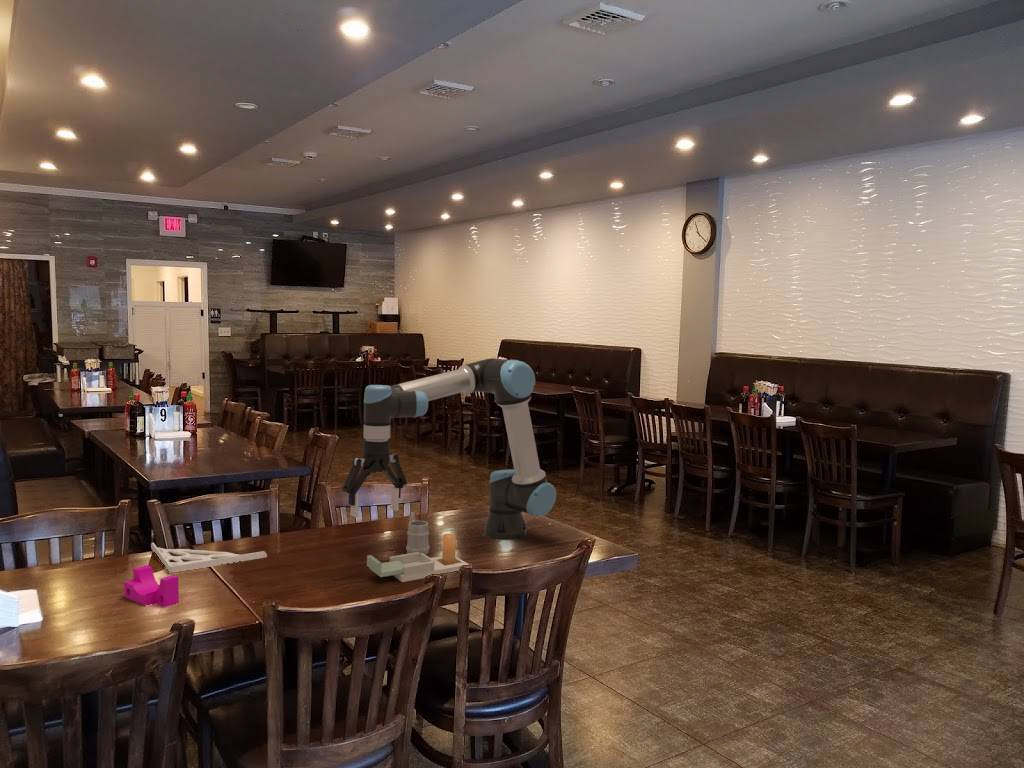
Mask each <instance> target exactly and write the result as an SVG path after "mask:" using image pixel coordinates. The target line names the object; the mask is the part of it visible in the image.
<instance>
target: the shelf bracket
mask: <svg viewBox="0 0 1024 768" xmlns="http://www.w3.org/2000/svg"><path fill="white" fill-rule="evenodd" d="M150 547H151V548H150V549H151V550H152V552H153V553H154V552H155V553H156V554H157V556H158V557H159V559H160V560H161V562H162V563H163V564H164V565H165V567H166V568H167V569H168V571H169V572H179V571H186V570H193V569H199V568H205V569H207V568H206V567H211V568H212V567H216V566H222V565H221V564H223V565H228V564H227V563H229V564H234V563H233V562H235V563H240V562H239V561H241V562H247V561H252V560H259V559H263V558H267V557H268V555H267V554H268V553H266V551H263V550H261V551H257V552H251V553H244V554H237V553H232V552H228V551H215V550H205V549H203V550H202V549H201V550H199V549H187V548H176V549H175V548H174V549H173V548H162V547H157V545H156V544H155V543H154V542H151V544H150ZM155 553H154V554H155ZM156 554H155V555H156ZM159 559H158V560H159ZM160 560H159V561H160ZM171 561H172V562H171ZM161 562H160V563H161ZM162 563H161V564H162ZM163 564H162V565H163ZM165 567H164V568H165ZM166 568H165V569H166ZM199 570H200V569H199ZM168 571H167V572H168ZM193 571H194V570H193ZM169 572H168V573H169Z"/></svg>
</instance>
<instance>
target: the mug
mask: <svg viewBox="0 0 1024 768" xmlns="http://www.w3.org/2000/svg"><path fill="white" fill-rule="evenodd" d="M409 516H410V517H409V518H410V519H409V522H408V525H407V526H408V527H407V531H406V534H407V545H406V548H405V549H406V554H409V553H415V552H419V553H423V554H425V555H426V556H427V554H429V553H430V549H431V546H430V543H429V535H430V531H429V522H428V521H426V520H416V516H415V511H412V512H410V515H409Z"/></svg>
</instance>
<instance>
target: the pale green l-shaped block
mask: <svg viewBox="0 0 1024 768" xmlns="http://www.w3.org/2000/svg"><path fill="white" fill-rule="evenodd" d="M403 566H405V565H404V564H402V563H401V562H399V561H392V562H389V561H388V562H386V561H385V562H381V561H380V560H379V559H377V558H376V557H374V556H373V555H371V554H369V555H366V567H368V568H369V569H370V571H372V572H373V573H374V574H376V575H377V576H378V577H380V578H384V577H390V576H393V575H396V574H401V573H403Z"/></svg>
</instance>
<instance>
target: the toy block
mask: <svg viewBox="0 0 1024 768" xmlns="http://www.w3.org/2000/svg"><path fill="white" fill-rule="evenodd" d="M132 577H133V578H132V579H130V580H125V581H124V582H123V587H124V588H123V590H124V595H123V596H124V597H127V598H129V599H131V600H130V601H132V600H134V601H136V602H135V603H137V602H138V603H137V604H139V603H140V605H141V604H143V605H142V606H144V605H149V606H151V605H150V604H152V605H154V604H153V603H157V604H156V605H158V604H160V605H162V606H161V607H163V606H164V607H163V608H168V607H170V606H169V605H171V606H174V605H177V604H176V603H178V604H179V602H180V599H179V595H180V594H179V593H180V591H179V576H178V575H175V574H171V575H169V576H165V577H163V578H159V583H158V581H157V580H156V577H155V575H154V571H153V566H150V565H148V564H145V565H141V566H137V567H135V568H132ZM124 597H123V598H124ZM127 598H126V599H127ZM129 599H128V600H129ZM134 601H133V602H134ZM173 604H174V605H173ZM160 605H159V606H160ZM167 606H168V607H167Z"/></svg>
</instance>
